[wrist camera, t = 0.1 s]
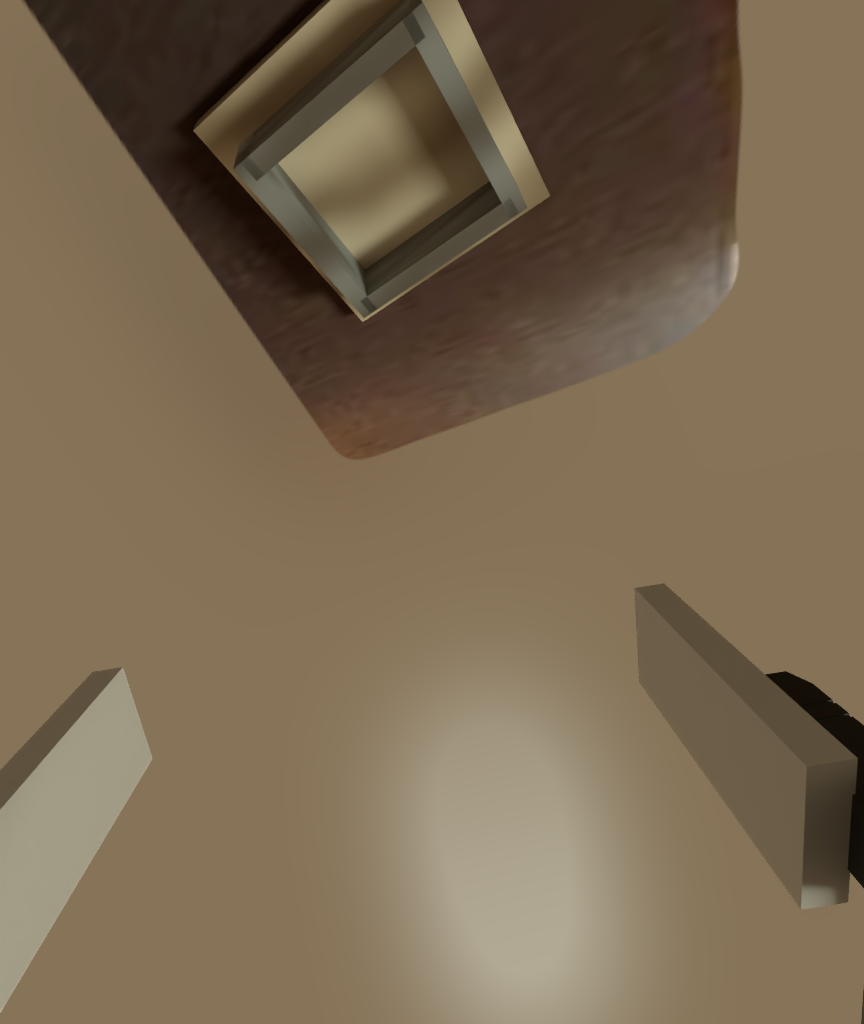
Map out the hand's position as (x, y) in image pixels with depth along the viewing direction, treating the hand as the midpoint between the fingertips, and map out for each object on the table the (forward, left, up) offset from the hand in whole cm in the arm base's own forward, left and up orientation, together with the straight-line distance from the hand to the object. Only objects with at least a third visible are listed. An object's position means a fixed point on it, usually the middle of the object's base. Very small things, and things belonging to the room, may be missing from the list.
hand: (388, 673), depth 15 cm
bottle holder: (+2, +1, -36) cm, 36 cm away
